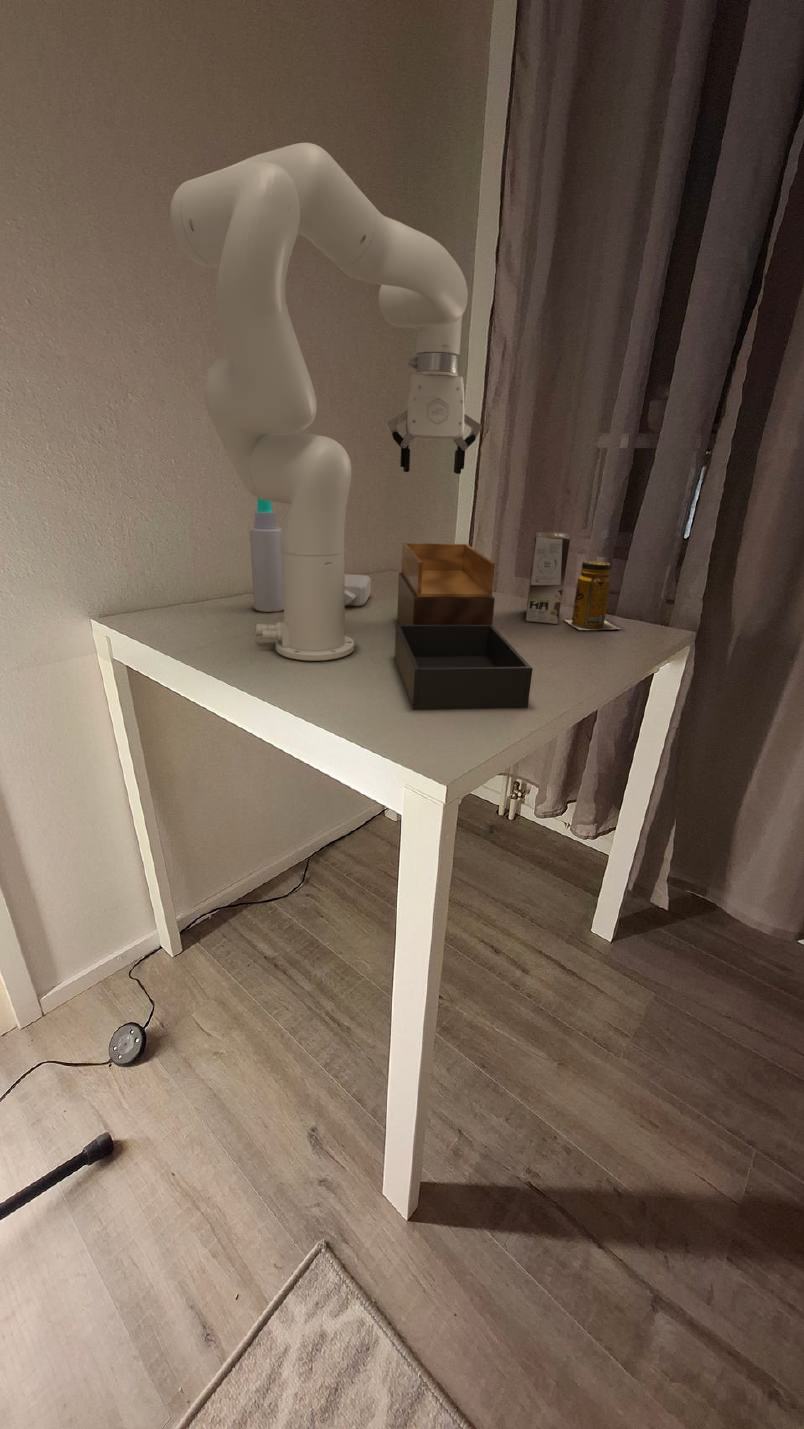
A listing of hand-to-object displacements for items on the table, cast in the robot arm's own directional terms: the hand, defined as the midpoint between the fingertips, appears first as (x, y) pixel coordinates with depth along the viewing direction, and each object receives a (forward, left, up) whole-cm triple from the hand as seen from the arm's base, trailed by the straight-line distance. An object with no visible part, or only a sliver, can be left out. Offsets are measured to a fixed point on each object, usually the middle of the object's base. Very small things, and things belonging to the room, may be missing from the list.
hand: (431, 472), depth 114 cm
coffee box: (+23, -5, -26) cm, 35 cm away
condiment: (+31, -11, -26) cm, 42 cm away
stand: (0, -17, -26) cm, 31 cm away
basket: (-2, -40, -26) cm, 48 cm away
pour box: (0, -14, -17) cm, 22 cm away
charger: (-16, +5, -26) cm, 31 cm away
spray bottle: (-31, +1, -26) cm, 41 cm away
